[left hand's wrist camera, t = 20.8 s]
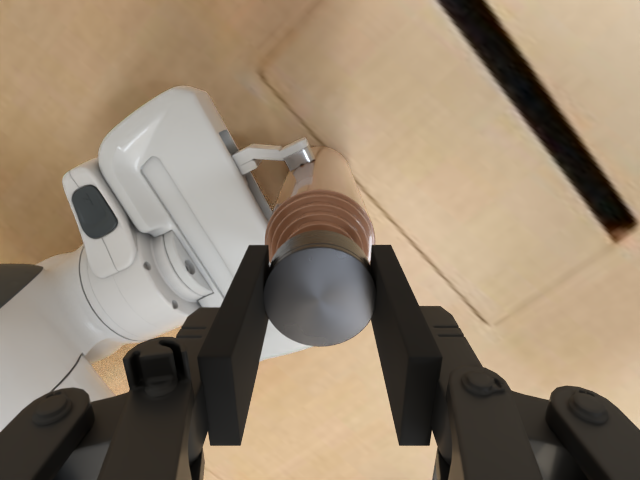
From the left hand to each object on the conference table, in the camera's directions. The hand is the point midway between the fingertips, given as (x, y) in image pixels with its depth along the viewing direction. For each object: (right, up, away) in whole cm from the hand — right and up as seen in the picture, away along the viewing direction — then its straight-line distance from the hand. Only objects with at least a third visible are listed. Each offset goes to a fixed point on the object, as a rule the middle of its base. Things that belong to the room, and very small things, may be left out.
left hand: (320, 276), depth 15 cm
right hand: (+1, +5, +11) cm, 12 cm away
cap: (0, -1, -1) cm, 1 cm away
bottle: (0, +7, +17) cm, 18 cm away
